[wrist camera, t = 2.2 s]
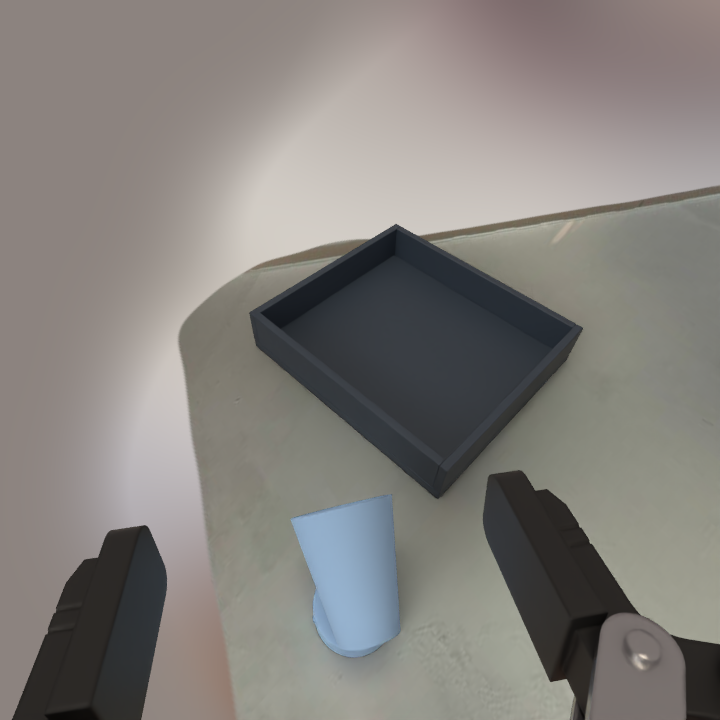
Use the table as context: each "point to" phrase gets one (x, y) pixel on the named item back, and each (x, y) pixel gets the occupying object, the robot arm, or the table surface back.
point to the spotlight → (352, 574)
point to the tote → (415, 350)
